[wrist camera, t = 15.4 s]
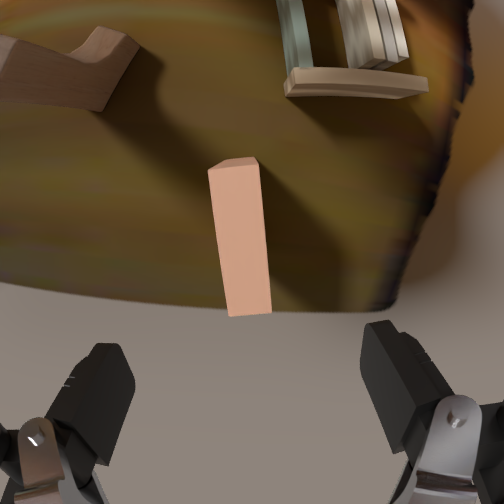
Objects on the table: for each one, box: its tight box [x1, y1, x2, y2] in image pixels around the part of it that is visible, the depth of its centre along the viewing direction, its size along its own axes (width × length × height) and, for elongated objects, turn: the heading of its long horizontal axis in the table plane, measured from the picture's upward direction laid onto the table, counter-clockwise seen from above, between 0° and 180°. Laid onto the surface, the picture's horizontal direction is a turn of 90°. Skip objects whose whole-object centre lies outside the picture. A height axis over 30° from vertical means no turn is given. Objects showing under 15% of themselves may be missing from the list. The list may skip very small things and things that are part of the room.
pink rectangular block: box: [208, 157, 272, 316], centre depth 25 cm, size 10×3×14 cm, turn 6°
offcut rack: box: [276, 0, 429, 99], centre depth 21 cm, size 18×13×7 cm
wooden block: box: [0, 26, 140, 112], centre depth 17 cm, size 9×4×18 cm, turn 148°
